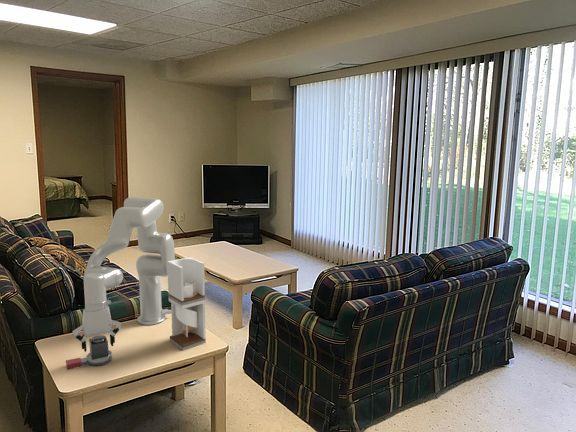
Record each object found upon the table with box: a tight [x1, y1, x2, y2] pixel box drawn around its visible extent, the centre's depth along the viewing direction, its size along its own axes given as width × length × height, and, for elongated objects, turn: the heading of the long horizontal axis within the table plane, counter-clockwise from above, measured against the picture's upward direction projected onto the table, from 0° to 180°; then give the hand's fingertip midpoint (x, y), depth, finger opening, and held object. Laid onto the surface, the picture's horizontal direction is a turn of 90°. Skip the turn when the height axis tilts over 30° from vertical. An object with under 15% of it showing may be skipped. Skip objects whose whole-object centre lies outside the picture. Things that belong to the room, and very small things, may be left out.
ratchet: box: [65, 349, 113, 371], centre depth 175 cm, size 16×9×6 cm, turn 120°
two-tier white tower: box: [167, 256, 207, 351], centre depth 191 cm, size 11×11×35 cm
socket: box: [88, 334, 109, 360], centre depth 176 cm, size 6×6×7 cm
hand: (98, 347), depth 176 cm, fingers open, 9 cm apart
